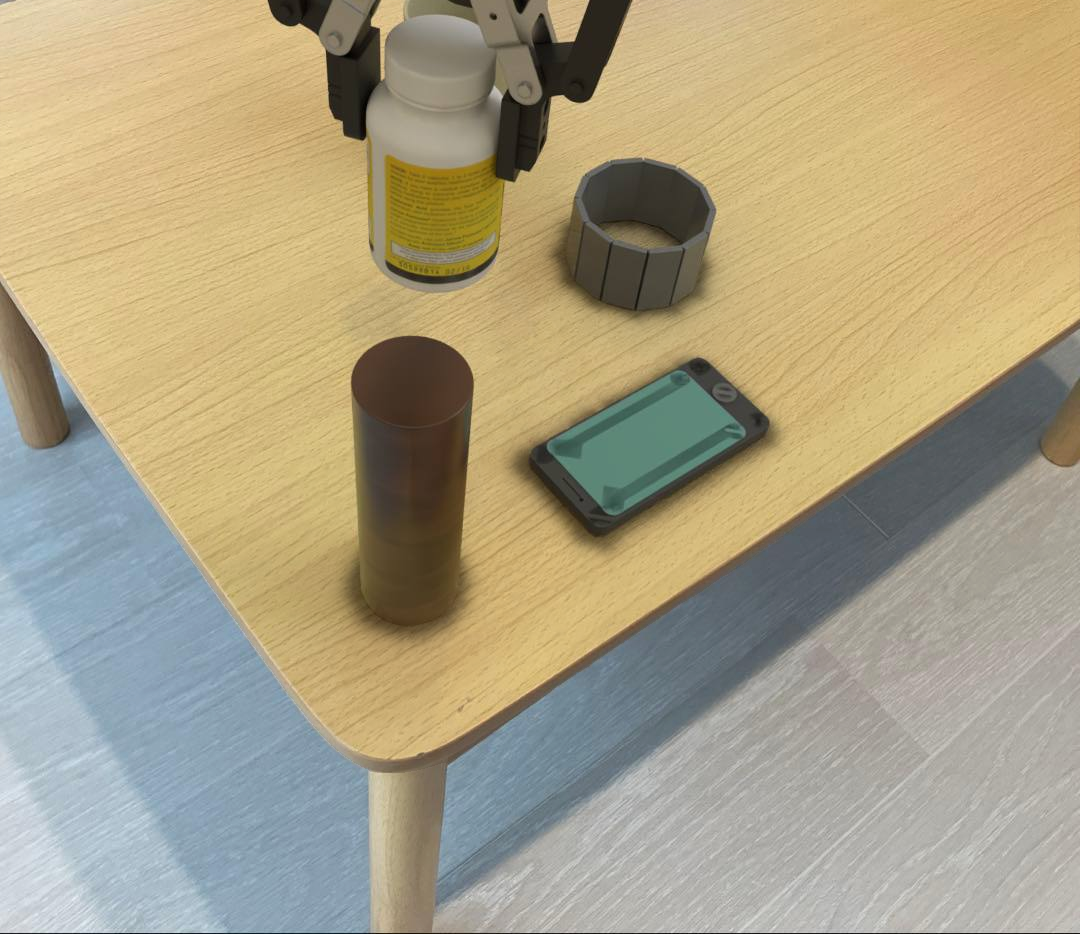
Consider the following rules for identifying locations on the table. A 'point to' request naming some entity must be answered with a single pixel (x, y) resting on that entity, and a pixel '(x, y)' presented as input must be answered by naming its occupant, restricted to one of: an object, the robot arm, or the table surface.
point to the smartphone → (647, 445)
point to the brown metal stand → (411, 474)
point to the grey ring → (649, 199)
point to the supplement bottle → (434, 156)
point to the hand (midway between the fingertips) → (437, 145)
